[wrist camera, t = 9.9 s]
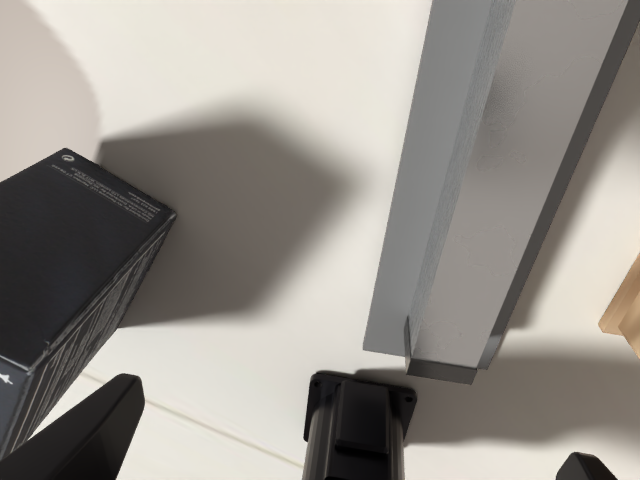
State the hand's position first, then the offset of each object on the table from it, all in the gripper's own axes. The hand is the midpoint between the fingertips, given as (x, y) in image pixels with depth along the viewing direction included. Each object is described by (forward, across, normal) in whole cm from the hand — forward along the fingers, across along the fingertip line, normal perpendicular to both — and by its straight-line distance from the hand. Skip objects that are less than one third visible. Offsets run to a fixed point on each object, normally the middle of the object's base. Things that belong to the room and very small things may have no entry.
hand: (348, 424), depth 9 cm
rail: (+12, -5, -3) cm, 13 cm away
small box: (+13, +14, +6) cm, 20 cm away
